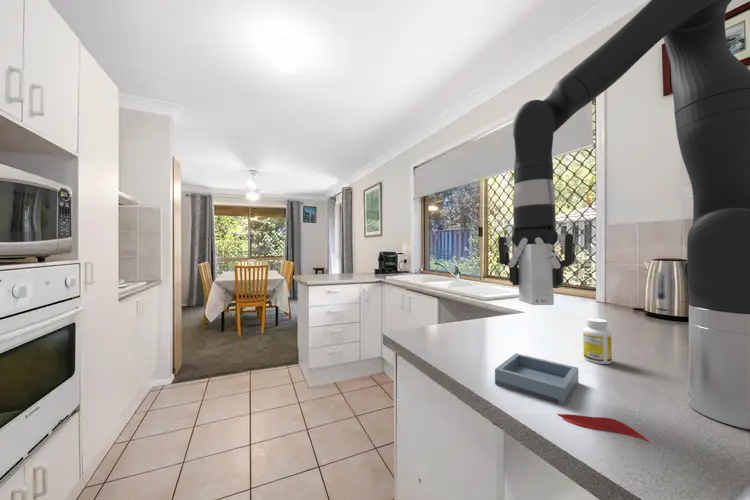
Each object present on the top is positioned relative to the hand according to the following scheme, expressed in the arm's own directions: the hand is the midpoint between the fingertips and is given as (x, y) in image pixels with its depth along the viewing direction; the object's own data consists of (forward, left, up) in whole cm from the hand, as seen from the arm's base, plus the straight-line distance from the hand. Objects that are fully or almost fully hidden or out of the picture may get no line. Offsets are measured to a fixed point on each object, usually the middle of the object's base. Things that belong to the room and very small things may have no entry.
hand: (535, 286), depth 60 cm
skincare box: (0, 0, -4) cm, 4 cm away
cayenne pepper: (-12, +10, -20) cm, 25 cm away
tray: (0, +1, -19) cm, 20 cm away
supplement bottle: (-7, -22, -20) cm, 31 cm away
